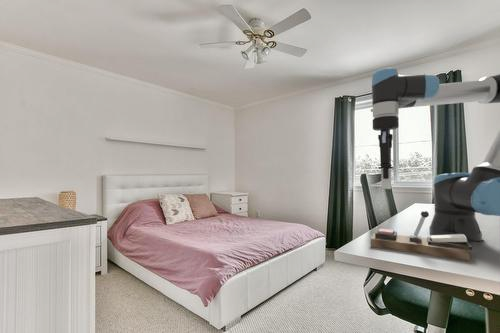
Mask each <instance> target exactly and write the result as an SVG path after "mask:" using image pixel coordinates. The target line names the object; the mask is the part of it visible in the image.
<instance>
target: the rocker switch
mask: <svg viewBox="0 0 500 333" xmlns="http://www.w3.org/2000/svg"><path fill="white" fill-rule="evenodd" d="M430 238H431V239H432V242H468V241H467V238H466V236H465V235H464V234H451V235H431V234H430Z"/></svg>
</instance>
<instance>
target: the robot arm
mask: <svg viewBox="0 0 500 333" xmlns="http://www.w3.org/2000/svg"><path fill="white" fill-rule="evenodd" d="M371 77H372V78H371V96H372V103H371V104H372V105H371V106H372V108H370V112H371V113H372V118H373V119H372V130H373V131H378V132H379V131H380V134H378V135H377V137H378V138H377V139H378V145H379V155H380V156H379V157H380V165H379V166H378V169H379V170H380V171H381V173H380V174H381V175H380V176H381V179H380V180H381V182H380V183H381V185H380V186H381V187H380V188H381V190H391V189H392V170H393V169H394V166H392V147H393V139H394V138H393V137H394V136H393V134H392V133H391V130H396V129H398V128H399V117H398V115H399V110H400V109H405V108H406V109H407V108H408V109H409V108H417V107H428V106H429V107H430V106H441V105H449V104H452V105H453V104H461V103H474V102H478V103H479V104H481V105H484V104H497V103H498V104H499V103H500V73H499V74H495V75H492V76H484V77H482V78H480V79H479V80H468V81H458V82H447V83H440V79H439V77H438V76H437V75H435V74H425V73H424V74H415V75H414V74H413V75H412V74H411V75H400V74H399V72H398V69H397V68H395V67H385V68H380V69H378V70H377V71H375V72H374V73H373V75H372V76H371ZM433 180H434V181H433V189H434V190H433V191H434V192H433V193H434V197H433V198H434V215H433V217H432V221H431V223H430V226H429V227H428V228H429V231H428V232H429V234H430V236H431V235H451V234H464V235H465V236H466V238H467V242H480V241H483V232H482V231H481V229H480V226H479V224H478V221H477V219H476V213H478V214H480V215H484V216H496V217H500V129H499V130H498V131H497V133H496V136H495V138H494V140H493V142H492V144H491V146H490V147H489V149H488V152H487V153H486V156H485V157H484V160H483V161H482V163H481V164H479V165H475V166H474V167H473V168H472V170H471V172H453V173H452V172H451V173H442V174H437V175H436V176H435V177H434V179H433Z"/></svg>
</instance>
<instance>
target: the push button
mask: <svg viewBox="0 0 500 333" xmlns="http://www.w3.org/2000/svg"><path fill="white" fill-rule="evenodd" d="M378 230H379V233H383V234H391V235H394V229H388V228H387V229H386V228H379V229H378Z"/></svg>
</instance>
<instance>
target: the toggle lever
mask: <svg viewBox="0 0 500 333" xmlns="http://www.w3.org/2000/svg"><path fill="white" fill-rule="evenodd" d="M420 216H421V217H420V219H419V221H418V224H417V226H416V227H415V230H414V233H413V236H418V237H419V234H420V231H421V229H422V228H423V225H424V223H425V220H426V218H428V217H429V216H430V214H429V212H428V211H426V210H423V211H421V213H420Z"/></svg>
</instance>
